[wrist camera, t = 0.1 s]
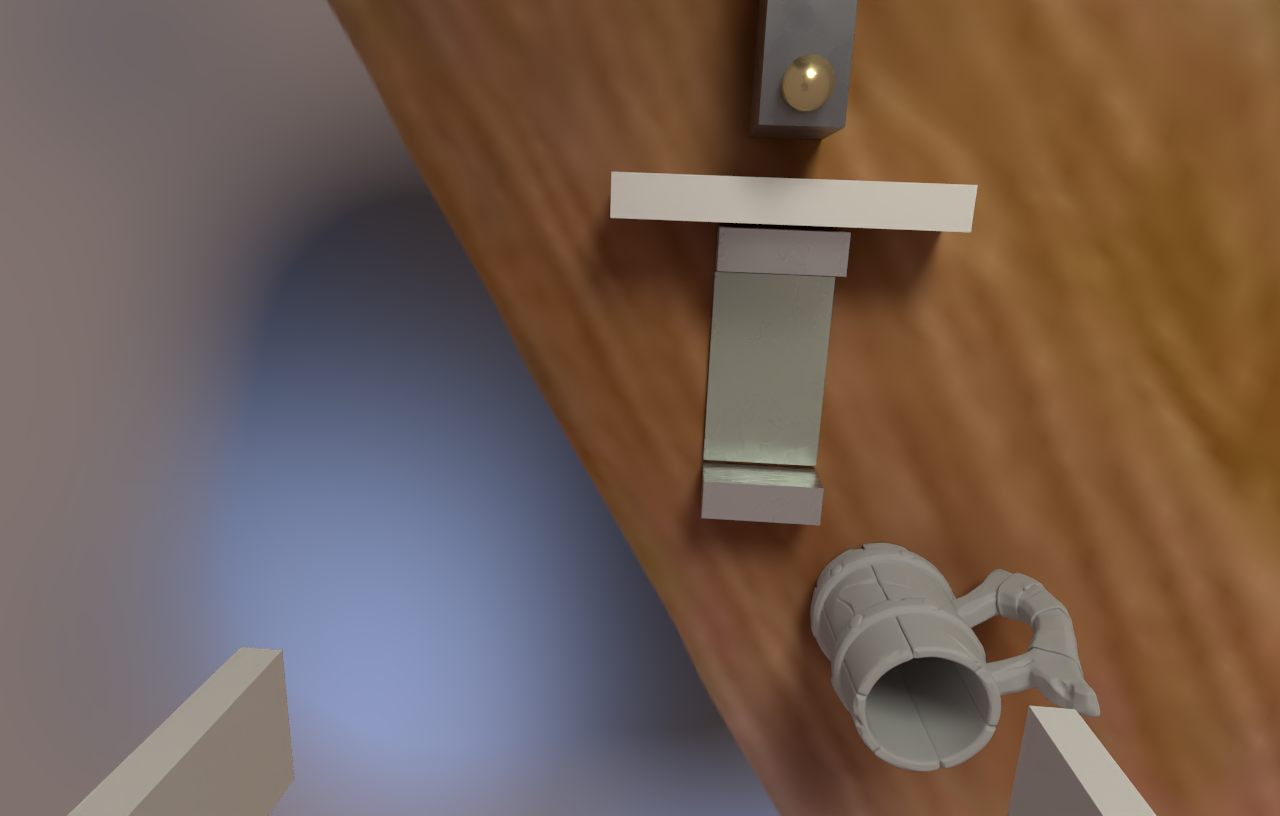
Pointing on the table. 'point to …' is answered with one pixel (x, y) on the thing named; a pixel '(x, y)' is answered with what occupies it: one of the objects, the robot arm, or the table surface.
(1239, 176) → the table surface
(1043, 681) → the mug
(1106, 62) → the table surface
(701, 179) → the door edge
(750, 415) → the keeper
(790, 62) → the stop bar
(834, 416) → the table surface
